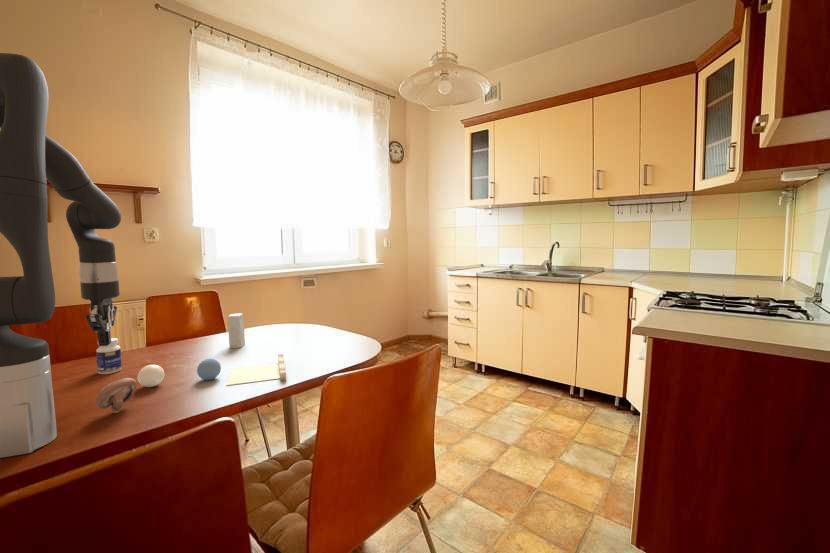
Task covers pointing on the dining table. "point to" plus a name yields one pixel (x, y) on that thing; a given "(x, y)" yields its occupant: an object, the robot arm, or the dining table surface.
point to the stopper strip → (281, 367)
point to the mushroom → (116, 394)
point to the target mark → (253, 374)
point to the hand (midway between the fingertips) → (105, 345)
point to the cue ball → (150, 375)
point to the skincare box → (236, 330)
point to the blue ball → (208, 369)
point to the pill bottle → (109, 358)
